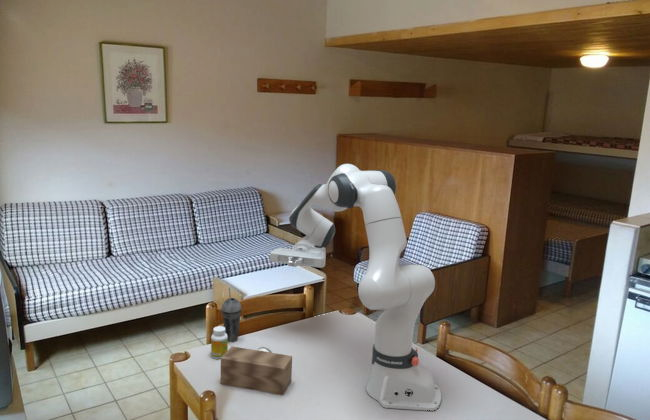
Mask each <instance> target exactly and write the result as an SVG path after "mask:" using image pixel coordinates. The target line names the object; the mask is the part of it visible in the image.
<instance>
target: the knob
mask: <svg viewBox="0 0 650 420" xmlns="http://www.w3.org/2000/svg"><path fill="white" fill-rule="evenodd" d="M257 350H258V351H264V352H270V353H273V351H272V349H271V348H270V347H268V346H260V347H259V348H258V349H257Z"/></svg>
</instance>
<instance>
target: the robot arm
mask: <svg viewBox="0 0 650 420" xmlns="http://www.w3.org/2000/svg"><path fill="white" fill-rule="evenodd" d="M395 179H396V178H395V177H394V175H393V174H392V172H390V171H387V170H382V169H376V170H360V169H359V168H358V167H357V166H356V165H355V164H351V163H343V164H341V165H339V166H337V168H336V169H335V170H334V172H333V173H332V174H331V175H330V177H329V178H328V180H327V182H326V183H324V184H320V183H319V184H317V185H316V186H314V187H313V188H312V189H311V190H310V191H309V193H308V194H307V195H306V196H305V197H304V198H303V199H302V201H301V202H300V204H298V205H297V206H296V207H294V208H293V210H292V211H291V212H290V215H289V218H288V219H289V220H288V221H289V224H290V226H291V227H292V228H293V229H295V230H298V231H299V232H301V233H302V234H303V235H305V236H303V237H302V238H301V239H300V240H299V241H297V242H296V243H295V244H294V245H293V246H292V247H291V248H284V247H281V248H280V247H279V248H275V249H273V250H272V251H270V252H269V261H270V262H271V263H275V264H276V263H278V264H286V265H287V267H295V268H297V267H299V266H300V267H303V266H304V267H311V268H320V269H322V268H323V269H324V267H325V266H326V261H327V260H326V259H327V257H326V256H327V254H326V252H327V251H326V250H327V249H326V248H327V247H328V246H329V245H330V243H331V242H332V240H333V238H334V237H335V234H336V227H335V224H334V222H333V221H331V220H330V219H328V218H326V217H324V216H323V215H322V214H320V213H319V212H317V211H316V210H314V209H313V208H312V206H315V205H316V206H319V207H321V208H323V209H326V210H328V211H331V212H342V211H345V210H347V209H353V208H354V207H359V208H360V209H361V211H362V215H363V221H364V226H365V227H364V228H365V231H366V232H365V233H366V237H367V243H368V249H369V257H368V258H369V259H368V265H367V268H366V271H365V273H364V274H363V277H362V278H361V279H360V281H359V284H358V289H357V293H358V298H359V300H360V302H361V304H362V305H363V306H364V307H365V308H367V309H369V310H370V311H372V310H373V311H375V310H376V311H381V310H384V311H383V312H382V313H381V314H380V315H379V317H377V319H376V322H375V329H374V330H375V332H374V343H373V345H372V349H371V364H372V365H371V369H370V374H369V377H368V380H367V383H366V386H365V391H366V392H367V394H368V395H369V396H370V397H371V398H372V399H374V400H375V401H377V402H378V404H380V406H381V407H383V408H385V409H399V410H411V411H412V410H413V411H414V410H415V411H426V412H427V410H428V411H429V410H430V411H431V412H435V411H436V410H438V409H437V408H440V406H441V404H440V403H442V391H441V389H440V387H439V386H438V384H436V383H435V380H434V376H433V374H432V372H431V370H430V369H428V368H427V367H426V366H425V365H423V364H422V363H421V362H419V361H420V359H419V353H418V348H415V349H414V348H413V338H414V329H415V324H416V321H417V318H418V316H419V314H420V311H421V309H422V307H423V306H424V303H425V302H426V301H427V299H428V298H429V297H430V296H431V295H432V293H434V290H435V286H436V279H435V276H434V273H433V272H432V271H431V269H430V268H429V267H427V266H426V265H421V264H407V265H401V266H400V263H399V262H400V257H401V253H402V252H403V251H404V250H405V249H406V246H407V243H408V240H407V236H406V231H405V226H404V222H403V218H402V213H401V210H400V207H399V204H398V201H397V199H396V190H397V183H396V180H395ZM439 405H440V406H439ZM434 410H435V411H434ZM430 411H429V412H430Z"/></svg>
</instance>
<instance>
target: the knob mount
mask: <svg viewBox="0 0 650 420" xmlns="http://www.w3.org/2000/svg"><path fill="white" fill-rule="evenodd" d="M292 369H293V355H288V354H281V353H277V352H276V353H275V352H272V353H270V352H264V351H258V349H252V348H251V349H250V348H245V347H244V348H243V347H239V346H234V345H233V346H230V347H229V349H228V351H227V352H226V353H225V354H224V355H223V356H222V357H221V359H220V385H225V386H230V387H236V388H240V389H242V388H243V389H248V390H253V391H258V392H263V393H269V394H275V395H280V396H284V395H285V393H286V391H287V389H288V388H289V386H290V384H291V383H292V379H293V378H292V374H293V373H292V372H293V370H292Z"/></svg>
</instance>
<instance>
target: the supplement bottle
mask: <svg viewBox="0 0 650 420" xmlns="http://www.w3.org/2000/svg"><path fill="white" fill-rule="evenodd" d="M212 330H213V331H212V334H211V337H210V342H211V343H210V345H211V346H210V352H211V353H210V354H211V357H212V358H213V359H216V360H221V357H222V356H223V355H224V354H225V353H226V352H227V351H228V350H229V349H228V344H229V342H228V336H227V334H226V333H225V327H224V325H223V326H221V325H217V326H215V327H213V329H212Z"/></svg>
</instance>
